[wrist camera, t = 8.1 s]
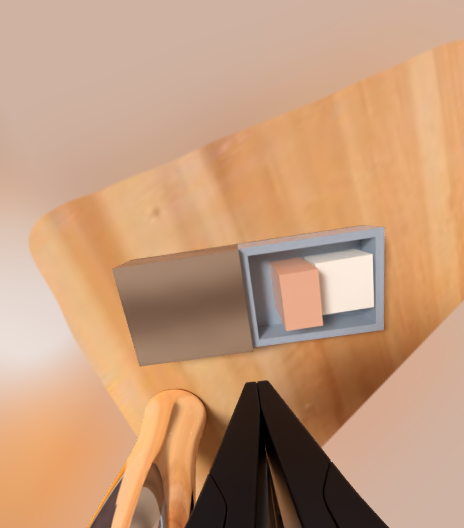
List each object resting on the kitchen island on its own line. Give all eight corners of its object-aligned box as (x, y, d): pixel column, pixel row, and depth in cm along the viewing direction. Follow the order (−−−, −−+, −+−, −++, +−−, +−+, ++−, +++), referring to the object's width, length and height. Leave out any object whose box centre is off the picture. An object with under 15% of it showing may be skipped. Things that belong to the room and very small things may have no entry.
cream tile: (319, 315, 16) (308, 302, 19) (374, 307, 16) (355, 294, 19) (315, 263, 16) (303, 256, 18) (372, 254, 15) (353, 248, 18)
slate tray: (365, 315, 20) (383, 329, 17) (250, 331, 20) (252, 347, 18) (363, 225, 18) (384, 227, 15) (237, 244, 18) (238, 248, 16)
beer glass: (206, 445, 23) (162, 846, 8) (139, 437, 23) (-25, 835, 8) (215, 389, 22) (180, 764, 7) (143, 380, 21) (-50, 747, 7)
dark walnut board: (250, 331, 20) (253, 351, 17) (152, 344, 20) (139, 366, 17) (237, 244, 18) (238, 250, 15) (130, 260, 19) (111, 269, 16)
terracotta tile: (275, 306, 19) (304, 302, 19) (286, 330, 15) (323, 325, 15) (269, 261, 18) (299, 256, 18) (279, 275, 14) (318, 269, 14)
